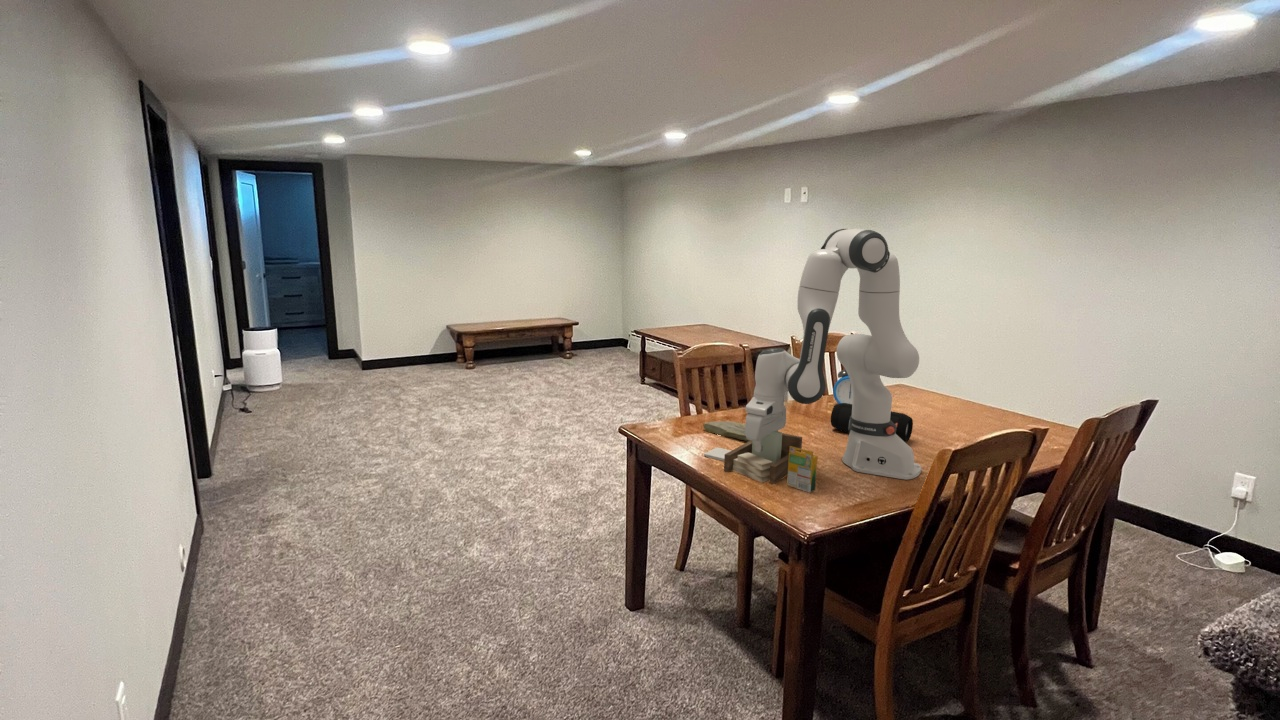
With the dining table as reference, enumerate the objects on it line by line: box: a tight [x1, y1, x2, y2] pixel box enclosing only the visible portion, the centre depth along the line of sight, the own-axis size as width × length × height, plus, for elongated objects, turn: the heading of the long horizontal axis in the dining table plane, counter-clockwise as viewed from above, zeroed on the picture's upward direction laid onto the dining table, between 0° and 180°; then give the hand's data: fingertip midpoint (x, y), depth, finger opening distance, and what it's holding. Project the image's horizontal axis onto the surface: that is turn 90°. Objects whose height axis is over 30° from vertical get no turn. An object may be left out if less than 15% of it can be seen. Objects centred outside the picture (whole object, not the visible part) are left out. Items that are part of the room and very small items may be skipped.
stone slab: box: [702, 420, 751, 443], centre depth 228 cm, size 12×4×30 cm
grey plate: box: [703, 446, 732, 462], centre depth 208 cm, size 11×8×1 cm
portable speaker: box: [830, 403, 914, 443], centre depth 230 cm, size 26×10×10 cm, turn 52°
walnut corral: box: [723, 432, 803, 485], centre depth 197 cm, size 16×18×9 cm
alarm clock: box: [832, 369, 853, 404], centre depth 265 cm, size 13×6×15 cm, turn 61°
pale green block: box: [752, 431, 783, 464], centre depth 199 cm, size 8×3×11 cm, turn 54°
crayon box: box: [786, 446, 818, 494], centre depth 183 cm, size 7×3×12 cm, turn 48°
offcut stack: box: [732, 452, 773, 483], centre depth 193 cm, size 12×5×5 cm, turn 36°
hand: (765, 448), depth 199 cm, fingers open, 7 cm apart
